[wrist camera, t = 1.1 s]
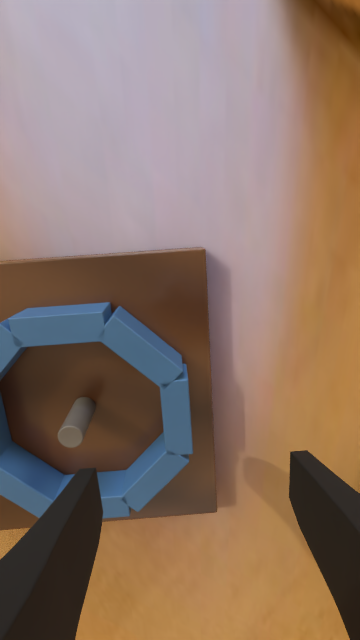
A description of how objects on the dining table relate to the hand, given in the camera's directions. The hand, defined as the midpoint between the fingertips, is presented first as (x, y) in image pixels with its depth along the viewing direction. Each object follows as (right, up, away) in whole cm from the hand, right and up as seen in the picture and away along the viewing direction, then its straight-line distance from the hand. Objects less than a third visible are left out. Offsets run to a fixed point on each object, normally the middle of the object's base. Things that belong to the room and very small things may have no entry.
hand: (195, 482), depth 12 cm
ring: (-6, +1, +6) cm, 8 cm away
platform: (-6, +2, +7) cm, 10 cm away
